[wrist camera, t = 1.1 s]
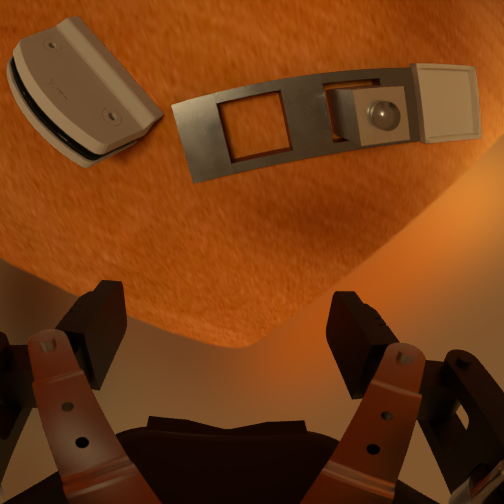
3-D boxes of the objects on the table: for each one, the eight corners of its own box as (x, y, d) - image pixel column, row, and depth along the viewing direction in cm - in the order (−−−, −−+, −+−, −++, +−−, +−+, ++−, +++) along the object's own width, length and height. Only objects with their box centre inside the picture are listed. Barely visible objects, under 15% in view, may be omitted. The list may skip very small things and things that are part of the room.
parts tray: (409, 63, 26) (416, 63, 25) (467, 66, 26) (475, 66, 24) (418, 141, 30) (425, 143, 29) (474, 136, 30) (481, 138, 29)
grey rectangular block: (325, 89, 28) (356, 89, 20) (366, 85, 28) (408, 86, 20) (332, 132, 30) (365, 147, 22) (372, 127, 30) (414, 141, 22)
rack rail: (175, 104, 28) (171, 105, 26) (402, 68, 27) (411, 67, 25) (195, 178, 32) (193, 183, 30) (411, 137, 30) (420, 141, 29)
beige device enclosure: (166, 116, 29) (107, 157, 21) (139, 142, 31) (81, 188, 24) (76, 14, 22) (3, 28, 14) (55, 44, 24) (-13, 67, 17)
